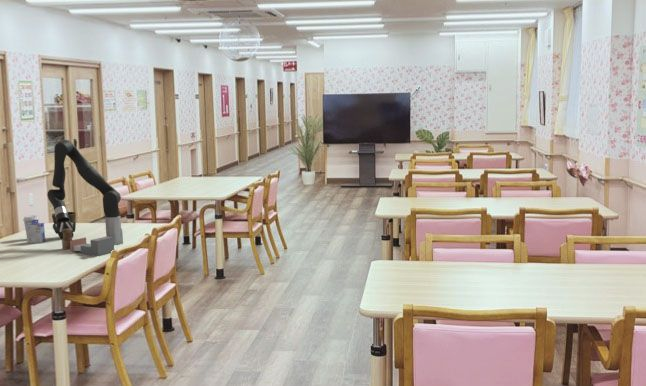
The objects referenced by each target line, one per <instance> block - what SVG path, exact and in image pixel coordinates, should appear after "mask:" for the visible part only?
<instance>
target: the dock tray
mask: <svg viewBox="0 0 646 386" xmlns="http://www.w3.org/2000/svg"><path fill="white" fill-rule="evenodd" d="M82 245H83V246H90V247H91V243H87V238H86V237H81V238H77V239H72V240H71V241H70V249H69V250H70V251H72V252H73V251H77V252H81V246H82Z"/></svg>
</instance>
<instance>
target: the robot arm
mask: <svg viewBox="0 0 646 386" xmlns="http://www.w3.org/2000/svg"><path fill="white" fill-rule="evenodd" d="M53 151H54V152H53V153H54V154H53V157H54V159H53V160H54V166H53V167H54V169H53V170H54V171H53V177H52V186H53V187H55V188H58V189H54V188H53V189H52V188H51V189H49V190H48V191H47V195H46V196H47V199H48V200H49V202H50V204H51V205H52V207H53V211H54V214H55V217H56V221H57V224H54V223H53V224H52V229H53V231H54V233H55V234H57V235H58V234H60V237H59V239H61V238H62V239H63V234H62V230H61V229H68V228H69V229H71V230H72V239H73V238H74V233H75V232H76V225H77V224H76V221H75V222H74V223H71V222H70V220H69V216H68V212H69V211H68V210H67V207H66V204H65V203H66V202H65V201H64V200H65V199H66V191H65V181H66V169H65V161H66V158H67V157H68V158H69V159H70V160H71V161H72V162H73V163H74V165H75V167H76V170H77V173H78V175H79V176H80V177H81V178H82V179H83V180H84V181H85V182H86V183H87V184H89V185H90V186H92V187H93V188H95V189H97V190H98V191H99V192H100V193H101V195H102V207H103V212H104V218H105V234H106V235H105V237H106V236H107V237H113V239H114V246H115V245H116V246H117V245H120V244H124V236H123V228H122V221H121V219H122V217H121V211H120V210H119V209H120V208H119V203H120V202H121V198H122V197H121V194H120V193H119V192H118V191H117V190H116V189H115V188H114V187H113V186H112V185H111V184H109V183H108V182H107V180H106V179H105V178H104V177H103V176H102V175H101V174H100V173H99V171H97V169H96V168H95V167H94V166H93V165H92V164H91V163H90V162H89V161H88V160H87V159H86V157H84V156H83V154H81V152H80V151H79V149H78V148H77V147H76V145H74V143H73V142H72V141H70V140H68V139H64V140H61V141H59V142H57V143H55V145H54V149H53ZM70 225H72V226H73V229H72V228H71V226H70ZM57 226H58V227H59V228H60V231H58V229H57ZM62 239H61V240H62Z"/></svg>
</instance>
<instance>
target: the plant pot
mask: <svg viewBox="0 0 646 386" xmlns="http://www.w3.org/2000/svg"><path fill="white" fill-rule="evenodd" d="M67 212H68V216H69V220H70V222H71V223H74V222H76V215H77V213H76V212H75V211H67ZM51 218H52V222H53V224H57V221H56V217H55V213H52V214H51ZM70 226H71V228H72V229H73V226H72V225H70ZM57 229H58V231H60V228H59V227H58V226H57ZM57 235H58V237H59V238H60V234H57ZM60 239H61V240H62V238H60Z"/></svg>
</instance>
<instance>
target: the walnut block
mask: <svg viewBox="0 0 646 386" xmlns="http://www.w3.org/2000/svg"><path fill="white" fill-rule="evenodd" d="M61 230H62V234H63V239H61V244H62V245H61V246H62V247H61V248H62V250H64V251H66V250H71V249H70V241H71V240H73V238H72V230H71V229H69V228H68V229H61Z"/></svg>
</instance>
